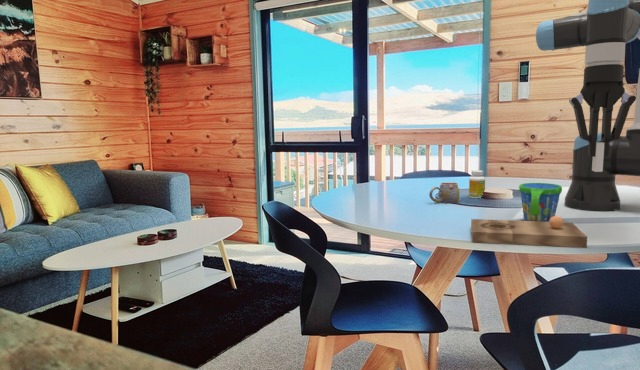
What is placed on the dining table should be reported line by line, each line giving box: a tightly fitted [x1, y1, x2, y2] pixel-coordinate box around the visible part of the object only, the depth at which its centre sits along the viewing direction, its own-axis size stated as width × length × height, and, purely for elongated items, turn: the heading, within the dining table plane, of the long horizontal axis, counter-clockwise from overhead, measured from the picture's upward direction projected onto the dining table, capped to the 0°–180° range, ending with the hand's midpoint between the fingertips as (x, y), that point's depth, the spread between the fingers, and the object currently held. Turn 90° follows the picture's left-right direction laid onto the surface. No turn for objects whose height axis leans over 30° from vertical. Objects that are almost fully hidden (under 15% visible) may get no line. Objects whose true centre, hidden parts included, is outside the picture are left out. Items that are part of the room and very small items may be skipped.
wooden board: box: [470, 218, 588, 249], centre depth 111 cm, size 24×14×2 cm, turn 73°
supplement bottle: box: [468, 169, 486, 199], centre depth 166 cm, size 5×5×10 cm
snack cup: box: [518, 182, 563, 222], centre depth 126 cm, size 16×10×10 cm
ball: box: [549, 215, 564, 229], centre depth 109 cm, size 3×3×3 cm
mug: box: [429, 182, 461, 204], centre depth 158 cm, size 12×7×7 cm, turn 114°
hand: (597, 170), depth 105 cm, fingers closed
